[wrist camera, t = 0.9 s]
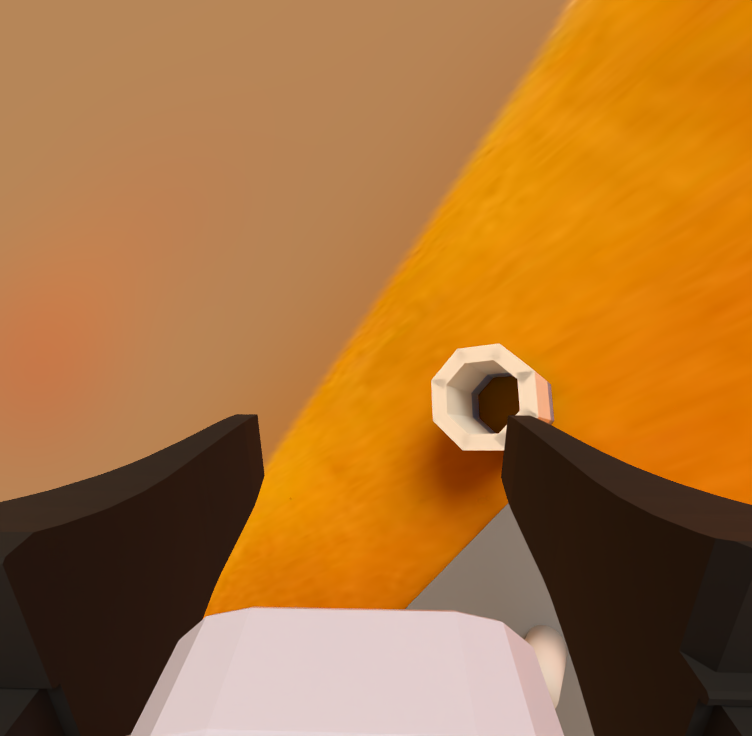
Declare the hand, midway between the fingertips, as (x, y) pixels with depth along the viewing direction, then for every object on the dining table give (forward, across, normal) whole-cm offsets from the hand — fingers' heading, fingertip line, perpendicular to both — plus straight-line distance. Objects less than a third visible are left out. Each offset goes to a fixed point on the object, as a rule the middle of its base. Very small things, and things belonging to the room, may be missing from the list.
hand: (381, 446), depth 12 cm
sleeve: (+13, -8, +5) cm, 16 cm away
